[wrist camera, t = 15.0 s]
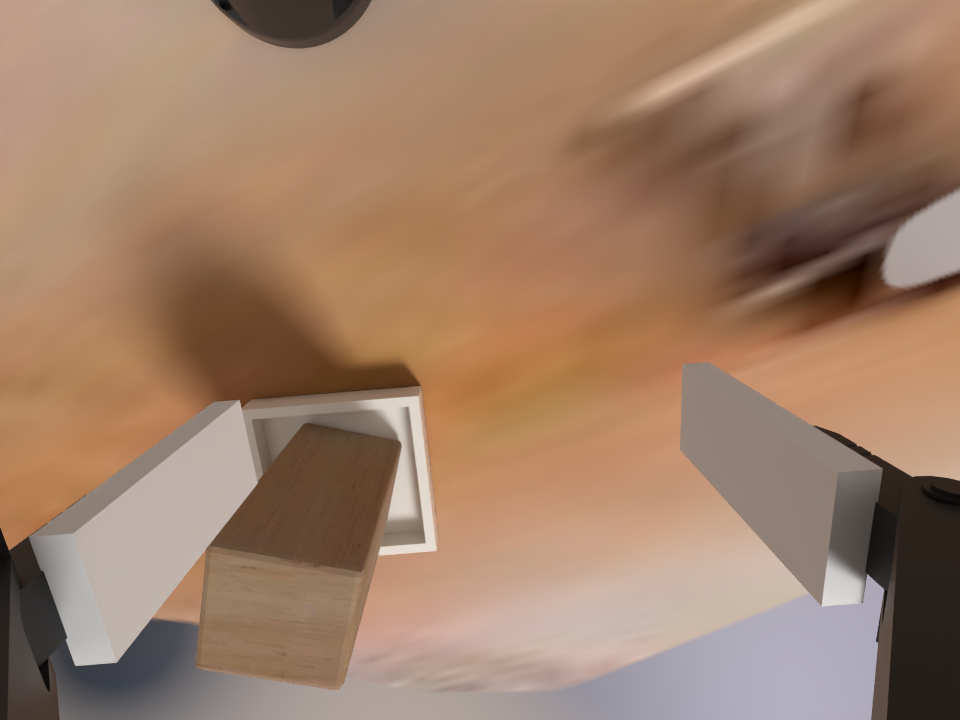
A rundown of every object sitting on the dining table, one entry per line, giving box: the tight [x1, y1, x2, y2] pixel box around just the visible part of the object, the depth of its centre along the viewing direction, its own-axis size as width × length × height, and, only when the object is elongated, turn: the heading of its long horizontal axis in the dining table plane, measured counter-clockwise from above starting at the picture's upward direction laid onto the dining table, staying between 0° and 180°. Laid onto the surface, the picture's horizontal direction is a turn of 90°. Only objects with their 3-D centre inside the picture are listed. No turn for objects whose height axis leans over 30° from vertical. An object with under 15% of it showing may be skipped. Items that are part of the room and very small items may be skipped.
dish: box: [241, 386, 438, 556], centre depth 52 cm, size 17×17×3 cm
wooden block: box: [196, 423, 402, 690], centre depth 43 cm, size 10×10×20 cm
